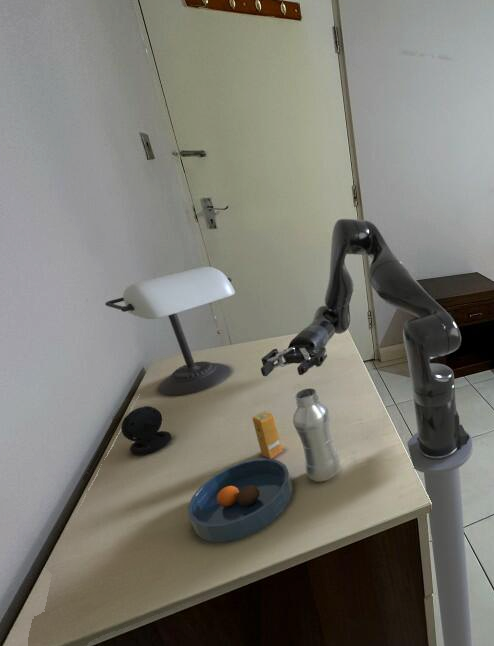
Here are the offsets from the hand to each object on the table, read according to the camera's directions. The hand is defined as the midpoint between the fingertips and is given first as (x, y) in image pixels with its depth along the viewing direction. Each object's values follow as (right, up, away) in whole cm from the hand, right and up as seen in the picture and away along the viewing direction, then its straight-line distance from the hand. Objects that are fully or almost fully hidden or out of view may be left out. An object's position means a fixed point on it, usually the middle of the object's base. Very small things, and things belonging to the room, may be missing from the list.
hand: (281, 372), depth 94 cm
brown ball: (+4, -21, -18) cm, 28 cm away
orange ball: (0, -21, -18) cm, 28 cm away
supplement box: (0, -18, -4) cm, 18 cm away
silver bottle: (+15, -20, -10) cm, 27 cm away
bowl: (+3, -23, -17) cm, 29 cm away
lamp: (-37, -6, +25) cm, 45 cm away
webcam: (-30, -17, -1) cm, 34 cm away
